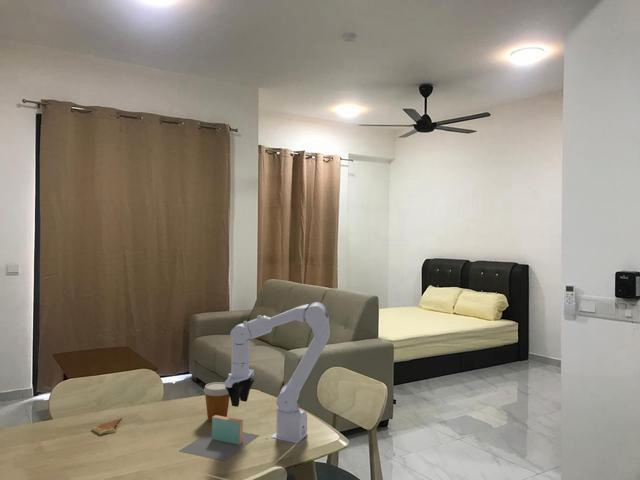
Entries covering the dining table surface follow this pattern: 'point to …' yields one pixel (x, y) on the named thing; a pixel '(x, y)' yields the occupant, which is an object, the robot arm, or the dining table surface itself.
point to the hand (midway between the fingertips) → (239, 403)
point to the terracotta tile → (227, 429)
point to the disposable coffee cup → (216, 399)
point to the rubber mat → (216, 447)
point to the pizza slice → (107, 427)
